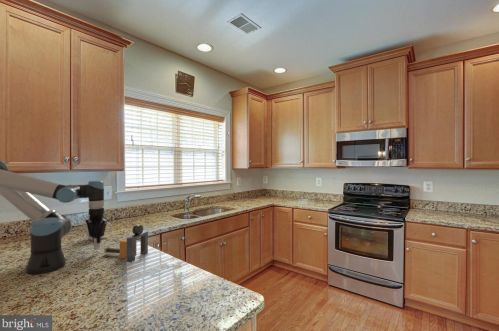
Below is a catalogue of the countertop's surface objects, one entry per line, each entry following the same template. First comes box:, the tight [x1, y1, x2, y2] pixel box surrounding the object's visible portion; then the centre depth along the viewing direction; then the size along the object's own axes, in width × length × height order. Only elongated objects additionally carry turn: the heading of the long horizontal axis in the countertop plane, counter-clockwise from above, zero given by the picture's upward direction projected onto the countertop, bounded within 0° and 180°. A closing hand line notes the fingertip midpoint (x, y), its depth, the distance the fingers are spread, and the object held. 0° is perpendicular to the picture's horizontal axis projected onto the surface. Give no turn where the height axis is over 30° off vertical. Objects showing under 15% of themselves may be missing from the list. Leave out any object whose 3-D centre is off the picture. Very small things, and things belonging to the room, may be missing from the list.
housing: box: [126, 224, 149, 263], centre depth 135 cm, size 14×3×18 cm, turn 169°
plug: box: [103, 237, 137, 259], centre depth 138 cm, size 17×6×9 cm, turn 79°
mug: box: [85, 221, 112, 241], centre depth 169 cm, size 15×11×13 cm
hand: (96, 248), depth 140 cm, fingers closed
